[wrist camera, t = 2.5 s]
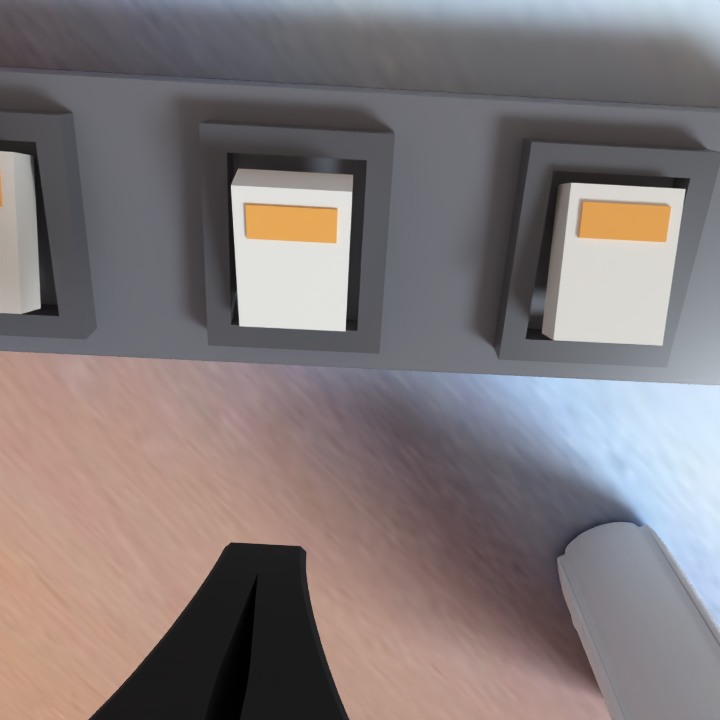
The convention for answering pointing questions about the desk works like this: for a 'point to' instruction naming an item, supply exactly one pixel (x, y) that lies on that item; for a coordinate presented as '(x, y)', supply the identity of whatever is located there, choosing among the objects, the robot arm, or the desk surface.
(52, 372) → the desk surface
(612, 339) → the rocker
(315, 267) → the middle rocker
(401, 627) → the desk surface
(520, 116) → the rocker switch panel
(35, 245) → the rocker
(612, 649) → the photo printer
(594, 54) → the desk surface
